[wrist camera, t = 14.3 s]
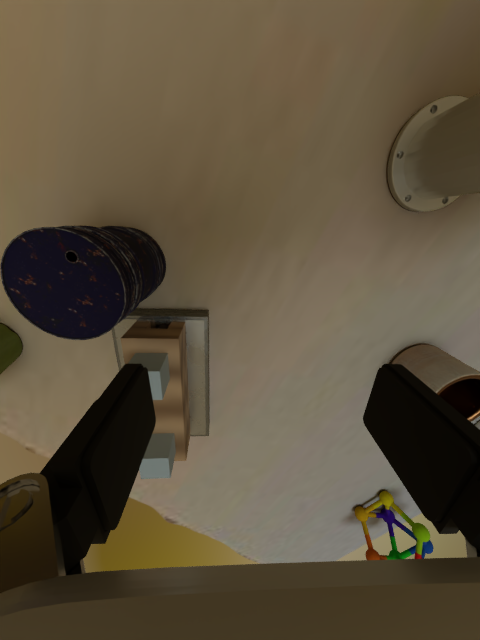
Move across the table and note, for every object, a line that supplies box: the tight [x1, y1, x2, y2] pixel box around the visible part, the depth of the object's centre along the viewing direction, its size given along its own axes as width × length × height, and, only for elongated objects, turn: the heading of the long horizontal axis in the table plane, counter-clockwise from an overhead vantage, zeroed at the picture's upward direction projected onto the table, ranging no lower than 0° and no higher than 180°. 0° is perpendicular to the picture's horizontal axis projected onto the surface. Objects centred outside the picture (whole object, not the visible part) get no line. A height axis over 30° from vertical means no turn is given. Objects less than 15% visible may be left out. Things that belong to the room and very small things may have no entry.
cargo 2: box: [139, 433, 176, 479], centre depth 33 cm, size 4×4×4 cm
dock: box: [112, 309, 210, 436], centre depth 39 cm, size 14×24×3 cm, turn 178°
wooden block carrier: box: [120, 321, 191, 461], centre depth 35 cm, size 22×7×6 cm, turn 178°
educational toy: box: [355, 491, 433, 560], centre depth 54 cm, size 16×13×15 cm
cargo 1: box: [128, 353, 170, 400], centre depth 28 cm, size 4×4×4 cm
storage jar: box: [1, 226, 166, 340], centre depth 26 cm, size 10×10×15 cm
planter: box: [391, 344, 480, 422], centre depth 39 cm, size 11×11×10 cm
